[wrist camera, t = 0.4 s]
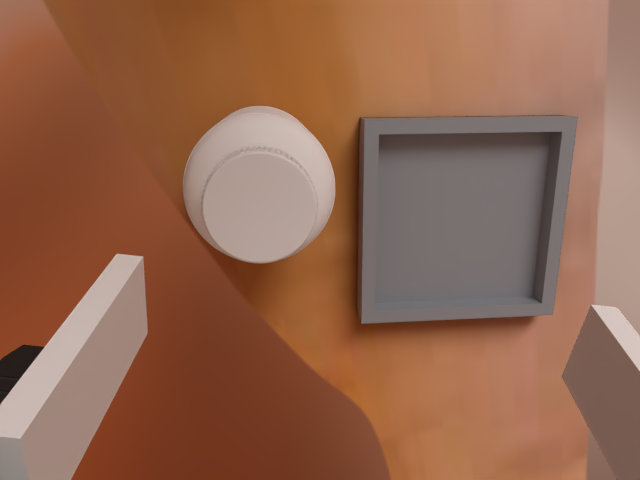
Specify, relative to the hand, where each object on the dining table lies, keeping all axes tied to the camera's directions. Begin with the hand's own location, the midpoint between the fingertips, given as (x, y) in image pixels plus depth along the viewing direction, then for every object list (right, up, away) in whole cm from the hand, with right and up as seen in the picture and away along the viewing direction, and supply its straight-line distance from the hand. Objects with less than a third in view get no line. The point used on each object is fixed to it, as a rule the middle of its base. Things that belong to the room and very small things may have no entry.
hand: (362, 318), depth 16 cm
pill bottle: (-5, +8, +22) cm, 24 cm away
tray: (+9, +4, +25) cm, 27 cm away
